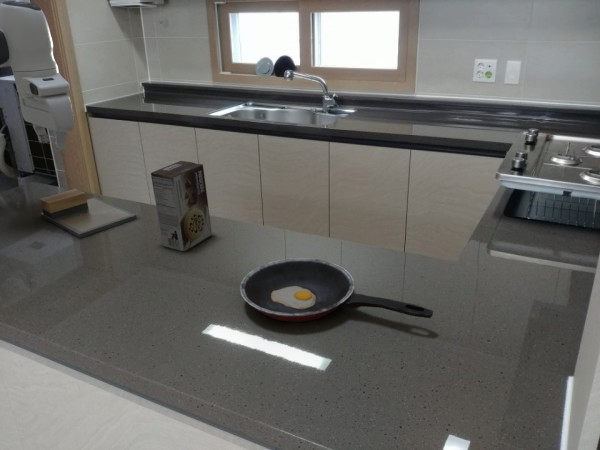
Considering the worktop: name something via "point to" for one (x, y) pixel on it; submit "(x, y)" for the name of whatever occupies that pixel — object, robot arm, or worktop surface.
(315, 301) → the frying pan
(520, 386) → the worktop surface
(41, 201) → the eraser
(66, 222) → the whiteboard
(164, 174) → the coffee box
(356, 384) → the worktop surface
